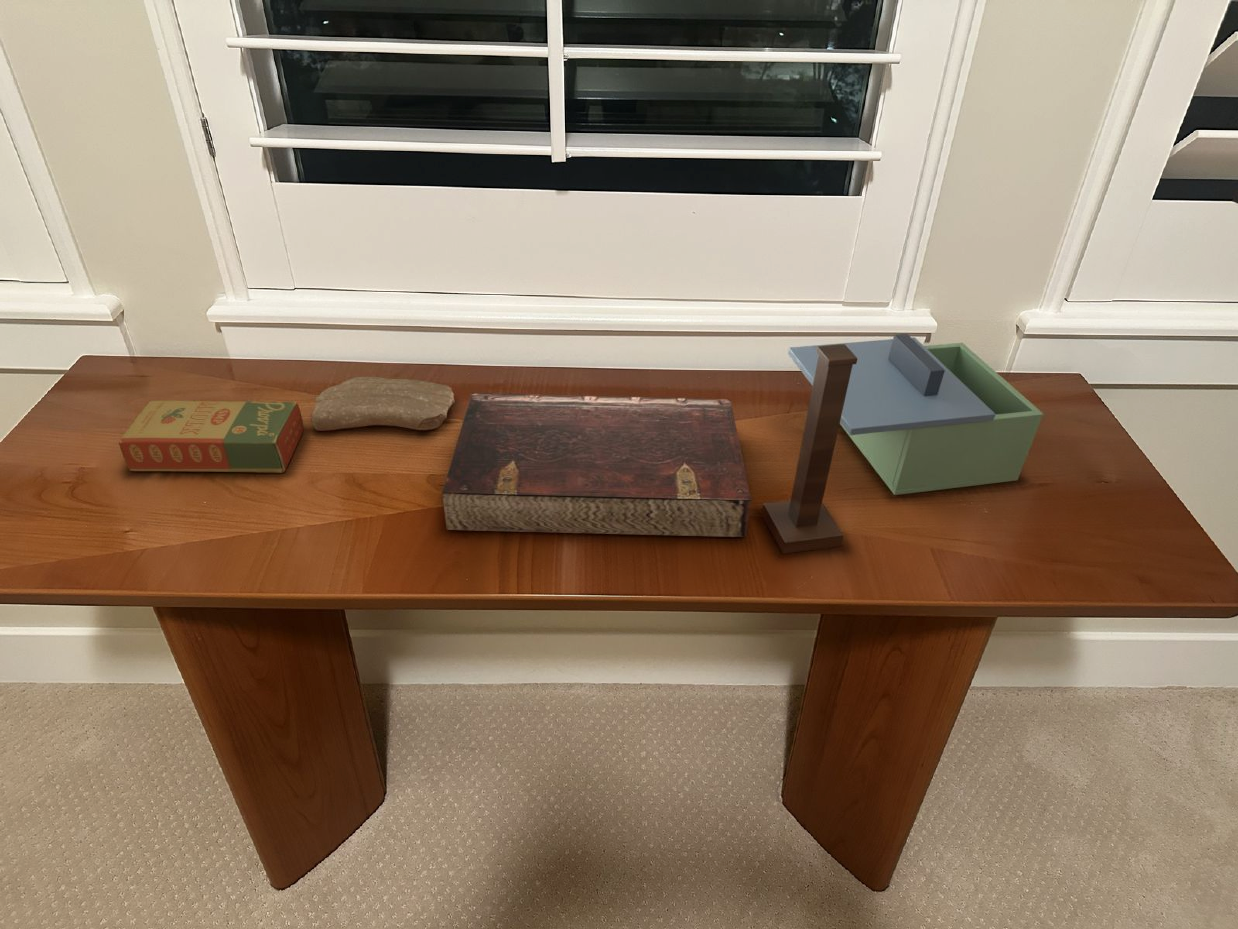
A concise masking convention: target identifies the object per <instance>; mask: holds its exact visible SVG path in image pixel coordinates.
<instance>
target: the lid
mask: <svg viewBox="0 0 1238 929" xmlns="http://www.w3.org/2000/svg"><path fill="white" fill-rule="evenodd" d="M838 344H845V345H846V346H847V347H848V348H849V349H850V350H851V351H852V353H853V354H854V355H855V356H856V357H857V363H856V364H853V366H852V370H851V375H850V379H849V384H848V388H847V393H846V397H845V402H844V406H843V411H842V415H841V420H840V422H841V424H842V425H843V426H844V428H845V429H846V430H847V432H848V433H849V434H850V435H857V434H866V433H876V432H886V431H896V430H905V429H915V428H925V427H934V426H944V425H954V424H963V423H973V422H983V421H992V420H994V417H995V413H994V412H993V411H992V410H991V409H990V408H988V407H987V406H986V405H985V404H984V403H983V402H982V401H981V400H980V399H979V398H978V397H977V396H976V395H975V394H974V393H973V392H972V391H971V390H970V389H969V388H967V387H966V386H965V385H964V384H963V383H962V382H961V381H960V380H959V379H958V378H957V377H956V376H955V375H954V374H953V373H952V372H951V371H950V370H949V369H948V368H946V367H945V366H944V365H943V364H942V363H941V362H940V361H939V360H938V359H937V358H936V357H935V356H934V355H933V354H932V353H931V352H930V351H929V350H928V349H927V348H925V347H924V346H925V345H924V344H923V343H921V342H920V340H918V339H917V338H916V337H911V336H910V335H909V334H908V333H899V334H894V335H893V338H890V339H879V340H865V341H853V342H841V343H828V344H827V343H826V344H818V345H815V344H814V345H804V346H803V345H802V346H791V347H788V350H787V355H788V356H789V357H790V359H791V360H792V361H793V363H794V364H795V365H796V367H797V368H798V369H799V370H800V372H801V373H802V375H804V377H805V378H806V380H807V381H808V382H809V383H810V385H811V386H812V387H813V382H814V377H815V372H816V367H817V361H818V356H819V355H818V354H817V353H816V350H817V346H826V345H838ZM844 428H843V429H844ZM847 432H846V433H847Z"/></svg>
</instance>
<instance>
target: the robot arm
mask: <svg viewBox="0 0 1238 929" xmlns="http://www.w3.org/2000/svg"><path fill="white" fill-rule="evenodd" d="M1231 201H1232V202H1233V203H1235V204H1238V189H1237V190H1236V193H1235V194H1234V195H1233V198H1232V200H1231Z"/></svg>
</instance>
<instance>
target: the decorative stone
mask: <svg viewBox="0 0 1238 929" xmlns="http://www.w3.org/2000/svg"><path fill="white" fill-rule="evenodd" d="M454 394H455V393H454V392H453V390H452V387H451V386H449V385H446V384H442V383H437V382H431V381H425V380H416V379H411V378H403V379H400V378H394V379H393V378H383V377H379V376H356V377H352V378H350V379H348V380H344V381H343V382H341V383H339V384H337V385H334V386H330V387H328V388H325V389H324V390H323V391H322V392H320V394H319V395H318V396H317V397H315V405H314V410H313V411H312V412H311V419H310V420H311V423H312V426H313V428H314V430H316V431H319V432H320V431H321V432H322V431H324V432H325V431H335V430H336V431H337V430H341V429H342V430H344V429H352V428H353V429H354V428H360V427H361V428H362V427H369V426H389V427H390V426H391V427H400V428H406V429H410V430H417V431H429V430H434V429H438V428H439V427H441V425H443V423H444V421H445V420H446V419H447V417H448V411H449V410H450V409H451V407H452V406H453V405H454V404H455V395H454Z"/></svg>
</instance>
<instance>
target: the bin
mask: <svg viewBox="0 0 1238 929" xmlns="http://www.w3.org/2000/svg"><path fill="white" fill-rule="evenodd" d="M923 346H924V347H925V348H927V349H928V350H929V351H930V352H931V353H932V354H933V355H934V356H935V357H936V358H937V359H938V360H939V361H940V362H941V363H942V364H943V365H944V366H945V367H946V368H948V369H949V370H950V371H951V372H952V373H953V374H954V375H955V376H956V377H957V378H958V379H959V380H960V381H961V382H962V383H963V384H964V385H965V386H966V387H967V388H969V389H970V390H971V391H972V392H973V393H974V394H975V395H976V396H977V397H978V398H979V399H980V400H981V401H982V402H983V403H984V404H985V405H986V406H987V407H988V408H990V409H991V410H992V411H993V412H994V413H995V417H994V420H992V421H983V422H973V423H963V424H954V425H944V426H934V427H925V428H915V429H905V430H896V431H886V432H876V433H866V434H857V435H850V434H849V433H848V432H847V430H846V429H845V428H844V426H843V425H842V424H841V422H840V424H839V426H841V427H842V429H843V430H844V431H845V432H846V434H847V435H848V437H849V438H850V439H851V440H852V442H853V443H854V444H855V446H856V447H857V448H858V450H859V451H860V452H861V454H862V455H863V456H864V457H865V458H866V460H867V461H868V463H869V464H870V465H871V467H872V468H873V469H874V471H875V472H876V473H877V474H878V475H879V477H880V479H881V480H882V481H883V482H884V483H885V485H886V486H887V487H888V489H889V490H890V492H891V493H892V494H893V495H894V496H899V495H907V494H915V493H924V492H933V491H940V490H941V491H942V490H950V489H956V488H957V489H958V488H965V487H974V486H982V485H992V484H998V483H1007V482H1014V481H1018V480H1019V478H1020V475H1021V472H1022V470H1023V467H1024V465H1025V462H1026V459H1027V457H1028V454H1029V452H1030V449H1031V447H1032V445H1033V442H1034V439H1035V437H1036V435H1037V432H1038V429H1039V426H1040V424H1041V421H1042V420H1043V418H1044V417H1043V416H1044V413H1043V411H1040V409H1039V408H1037V407H1036V406H1035V405H1034V404H1033V403H1032V402H1031V401H1030V400H1029V399H1028V398H1026V397H1025V396H1024V395H1023V394H1022V393H1021V392H1019V391H1018V390H1017V389H1016V388H1015V387H1014V386H1013V385H1012V384H1010V382H1008V381H1007V380H1006V379H1005V378H1003V377H1002V376H1001V375H1000V374H999V373H998V372H997V371H995V370H994V369H993V368H992V367H991V366H990V365H989V364H988V363H986V362H985V361H984V360H983V359H982V358H980V357H979V355H977V354H976V353H975V352H974V351H972V350H971V348H969V347H968V346H967V345H966V344H965V343H963V342H954V343H942V344H931V345H929V344H927V345H923Z"/></svg>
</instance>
